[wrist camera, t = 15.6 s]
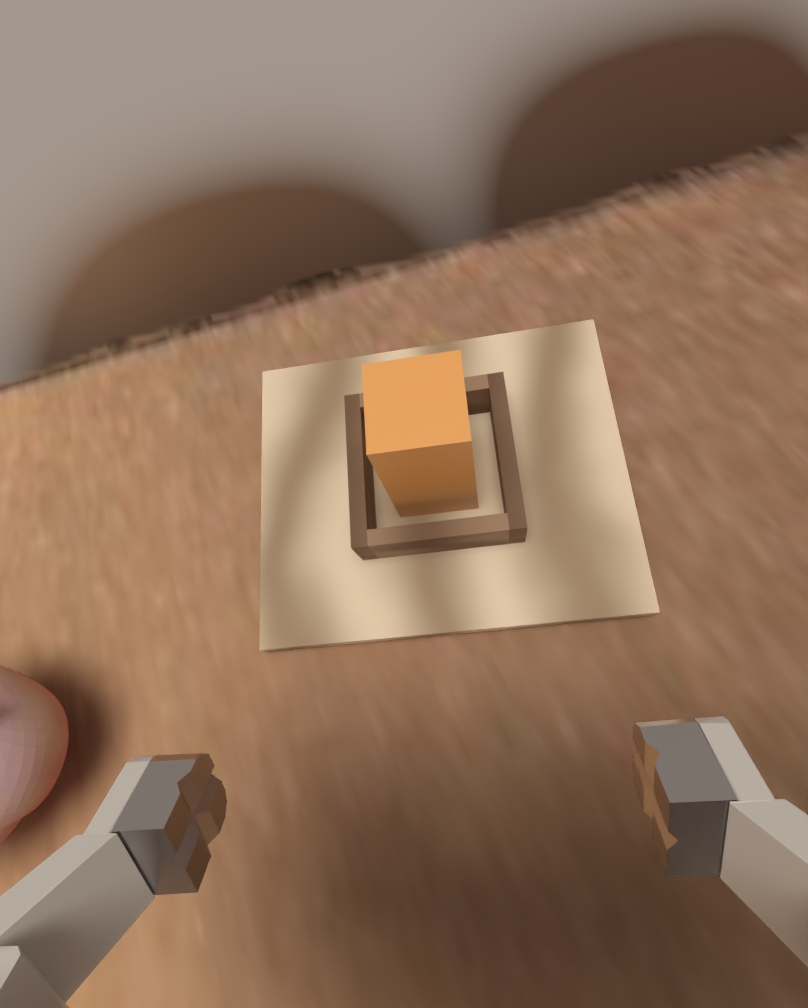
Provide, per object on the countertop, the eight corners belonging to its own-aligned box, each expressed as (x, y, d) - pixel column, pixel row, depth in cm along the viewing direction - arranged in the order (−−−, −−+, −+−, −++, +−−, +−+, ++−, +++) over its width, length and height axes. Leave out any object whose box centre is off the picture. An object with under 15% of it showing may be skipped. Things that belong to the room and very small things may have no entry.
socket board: (590, 330, 32) (601, 288, 28) (654, 615, 26) (676, 603, 23) (269, 380, 34) (244, 347, 31) (267, 651, 29) (237, 645, 25)
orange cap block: (470, 437, 30) (460, 349, 22) (478, 508, 28) (471, 440, 21) (395, 447, 30) (361, 364, 23) (400, 517, 29) (366, 454, 21)
